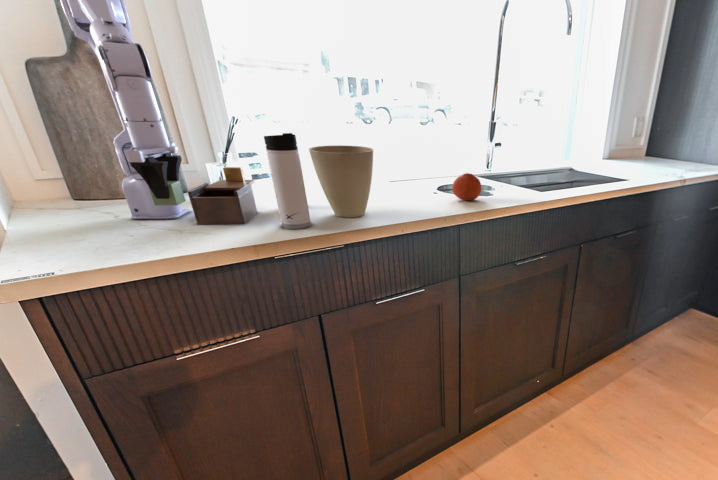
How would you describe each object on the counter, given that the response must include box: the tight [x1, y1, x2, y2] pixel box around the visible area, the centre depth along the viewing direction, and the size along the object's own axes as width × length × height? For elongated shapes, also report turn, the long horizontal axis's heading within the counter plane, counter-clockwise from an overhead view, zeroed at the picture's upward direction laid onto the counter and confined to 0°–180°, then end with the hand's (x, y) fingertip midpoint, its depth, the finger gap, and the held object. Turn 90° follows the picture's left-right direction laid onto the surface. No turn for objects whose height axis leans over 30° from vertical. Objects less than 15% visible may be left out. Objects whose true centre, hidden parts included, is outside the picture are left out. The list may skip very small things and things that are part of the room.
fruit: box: [451, 172, 482, 201], centre depth 131 cm, size 9×9×8 cm
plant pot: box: [308, 144, 374, 218], centre depth 108 cm, size 15×15×16 cm
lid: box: [205, 166, 256, 190], centre depth 106 cm, size 8×11×4 cm
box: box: [187, 182, 258, 225], centre depth 102 cm, size 10×11×7 cm
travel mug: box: [263, 132, 312, 230], centre depth 95 cm, size 6×7×20 cm
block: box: [148, 180, 187, 205], centre depth 85 cm, size 4×4×4 cm
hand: (168, 196), depth 85 cm, fingers closed on block, 4 cm apart
